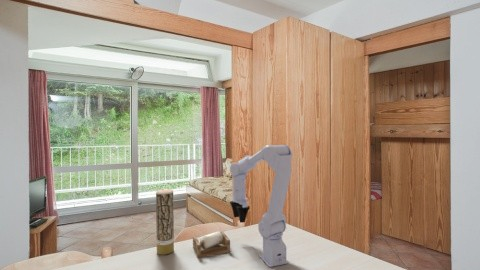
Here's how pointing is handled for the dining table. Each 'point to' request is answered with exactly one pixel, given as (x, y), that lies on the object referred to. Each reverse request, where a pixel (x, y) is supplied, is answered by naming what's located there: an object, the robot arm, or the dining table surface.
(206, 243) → the roll
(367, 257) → the dining table surface
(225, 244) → the holder
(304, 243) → the dining table surface
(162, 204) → the paper tube
